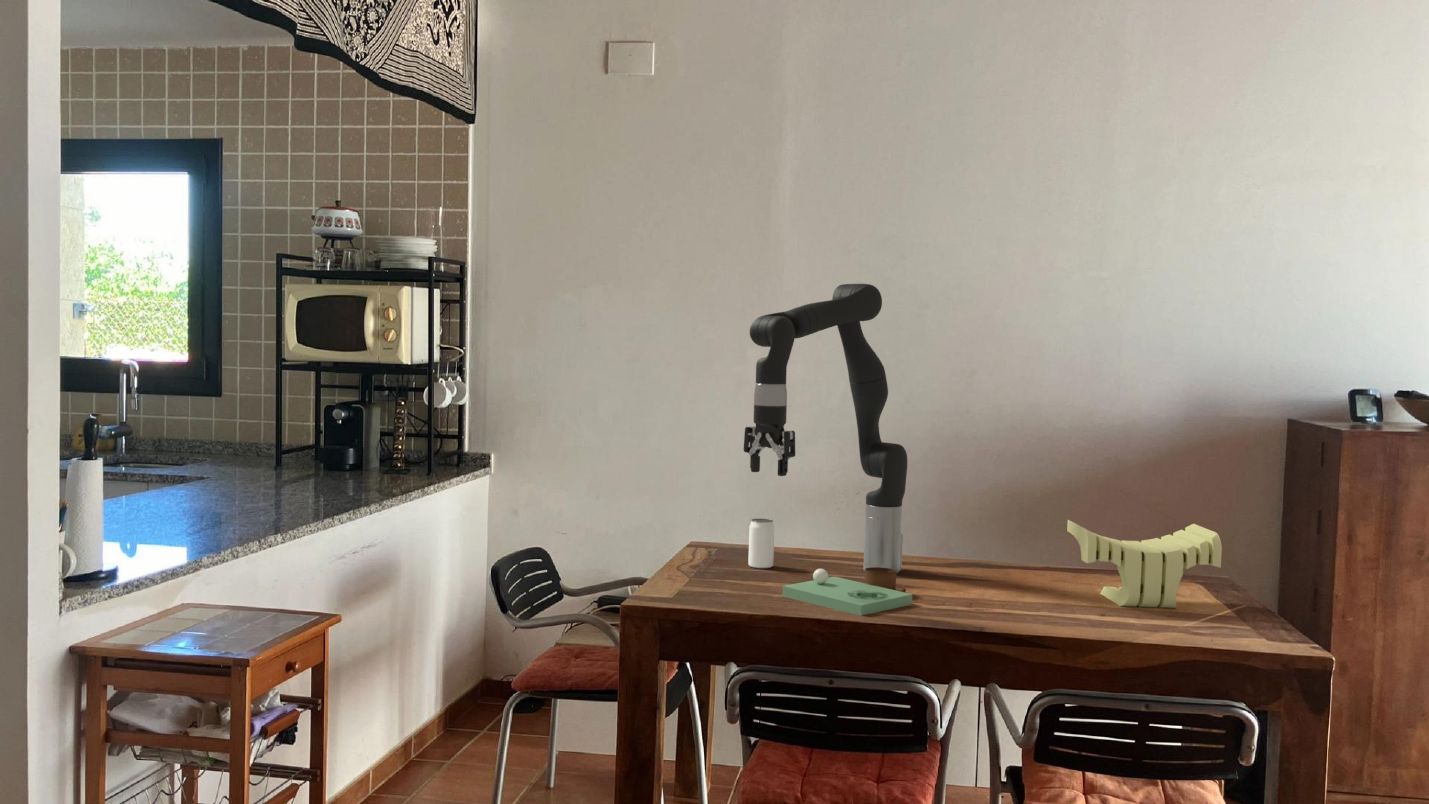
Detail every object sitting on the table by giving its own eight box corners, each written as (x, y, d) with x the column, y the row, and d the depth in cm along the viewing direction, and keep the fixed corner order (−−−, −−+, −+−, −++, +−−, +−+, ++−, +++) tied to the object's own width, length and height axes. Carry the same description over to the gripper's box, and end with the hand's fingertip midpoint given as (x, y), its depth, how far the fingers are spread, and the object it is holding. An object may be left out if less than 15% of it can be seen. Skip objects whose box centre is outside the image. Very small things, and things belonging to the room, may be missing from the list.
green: (782, 596, 255) (782, 585, 255) (833, 586, 267) (834, 576, 267) (860, 617, 238) (861, 605, 238) (912, 605, 250) (912, 594, 250)
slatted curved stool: (1085, 608, 253) (1088, 530, 252) (1064, 592, 269) (1067, 519, 268) (1218, 613, 252) (1222, 534, 251) (1189, 597, 268) (1193, 523, 267)
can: (771, 569, 285) (772, 522, 285) (746, 567, 287) (747, 521, 286) (774, 564, 292) (776, 519, 291) (750, 563, 293) (752, 517, 292)
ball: (819, 581, 261) (820, 566, 261) (831, 584, 258) (831, 569, 258) (809, 583, 258) (810, 568, 258) (821, 586, 256) (821, 570, 256)
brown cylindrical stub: (843, 594, 262) (844, 567, 262) (877, 589, 270) (878, 564, 270) (881, 602, 253) (882, 575, 253) (916, 598, 260) (917, 571, 260)
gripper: (804, 405, 253) (802, 476, 254) (759, 401, 263) (757, 469, 264) (781, 405, 248) (779, 478, 249) (736, 402, 258) (735, 471, 259)
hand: (768, 473), depth 257 cm, fingers open, 8 cm apart
